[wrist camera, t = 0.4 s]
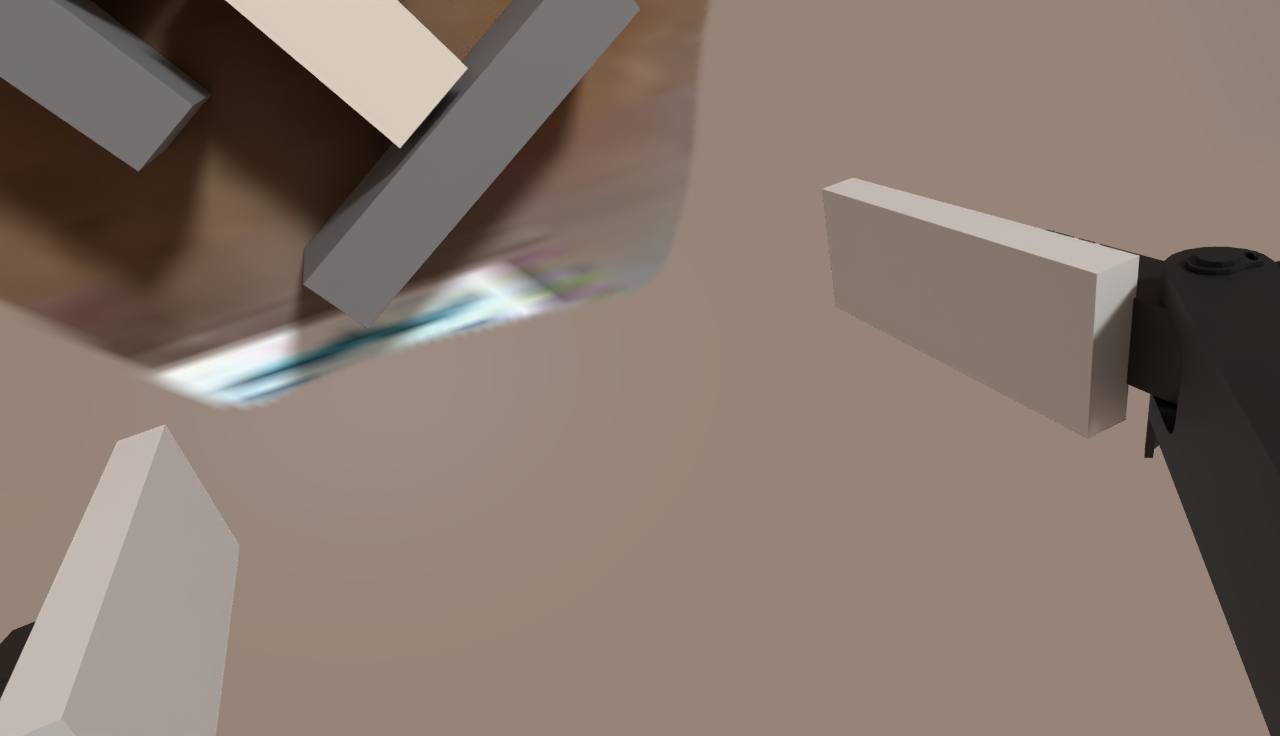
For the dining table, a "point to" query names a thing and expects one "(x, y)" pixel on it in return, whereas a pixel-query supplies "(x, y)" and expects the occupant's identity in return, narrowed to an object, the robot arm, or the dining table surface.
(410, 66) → the cream bar
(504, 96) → the pocket plate
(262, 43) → the dining table surface
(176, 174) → the dining table surface
